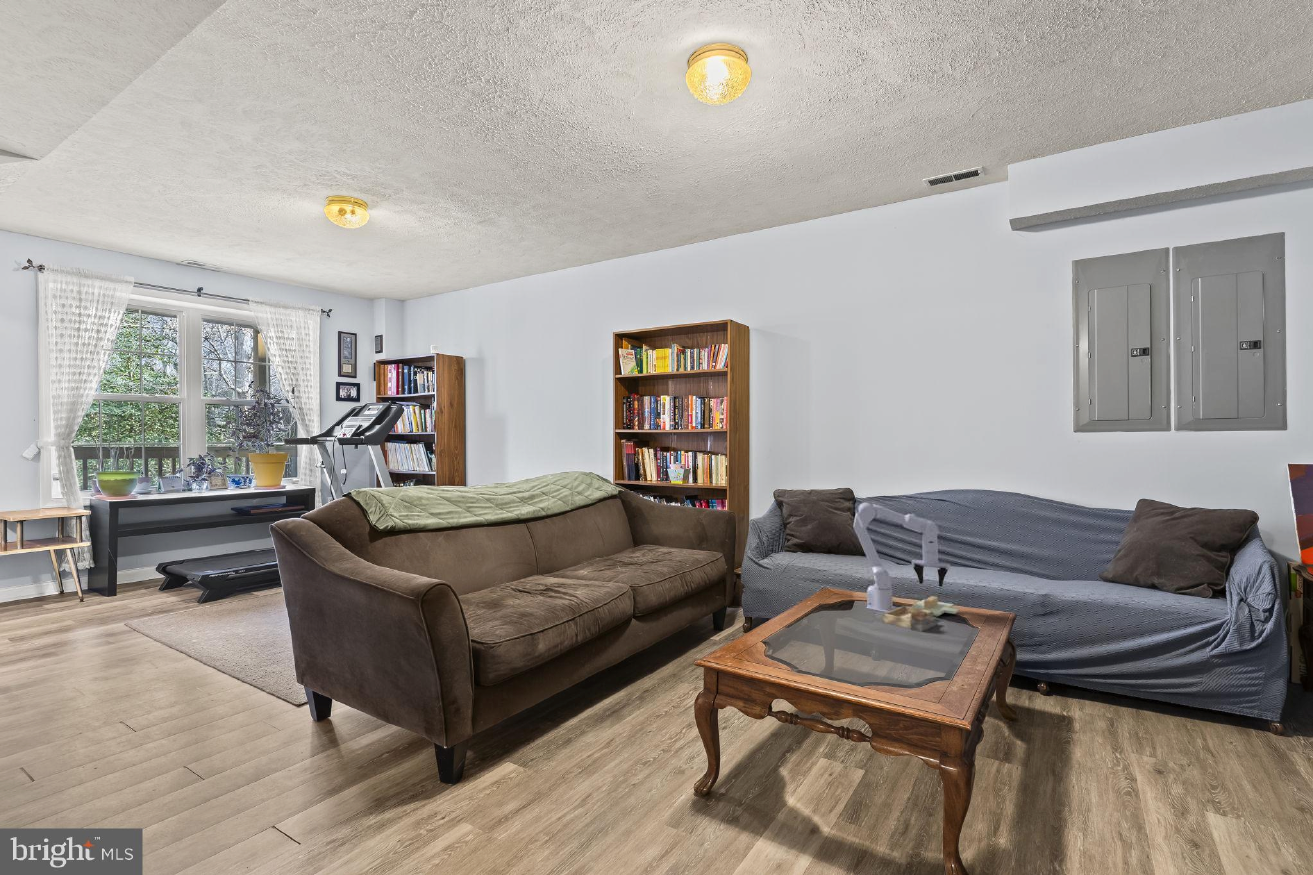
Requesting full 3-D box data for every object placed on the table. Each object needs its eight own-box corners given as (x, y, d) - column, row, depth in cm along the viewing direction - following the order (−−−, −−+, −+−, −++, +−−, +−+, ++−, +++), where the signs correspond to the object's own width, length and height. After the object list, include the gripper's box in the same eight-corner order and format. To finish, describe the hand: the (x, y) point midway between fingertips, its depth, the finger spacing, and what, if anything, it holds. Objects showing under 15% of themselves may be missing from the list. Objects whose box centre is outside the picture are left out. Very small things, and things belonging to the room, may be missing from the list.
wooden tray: (881, 622, 241) (881, 612, 241) (903, 612, 252) (903, 603, 252) (921, 631, 228) (921, 621, 228) (943, 621, 239) (943, 611, 239)
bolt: (911, 618, 232) (911, 612, 232) (916, 616, 234) (916, 610, 234) (921, 620, 229) (921, 614, 228) (927, 618, 231) (926, 612, 231)
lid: (908, 612, 252) (908, 600, 252) (923, 603, 264) (923, 592, 264) (950, 619, 241) (949, 607, 241) (964, 610, 253) (963, 598, 252)
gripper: (908, 550, 256) (909, 584, 256) (945, 555, 246) (946, 589, 246) (915, 548, 261) (915, 580, 261) (951, 552, 251) (952, 585, 251)
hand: (931, 584), depth 254 cm, fingers open, 7 cm apart
